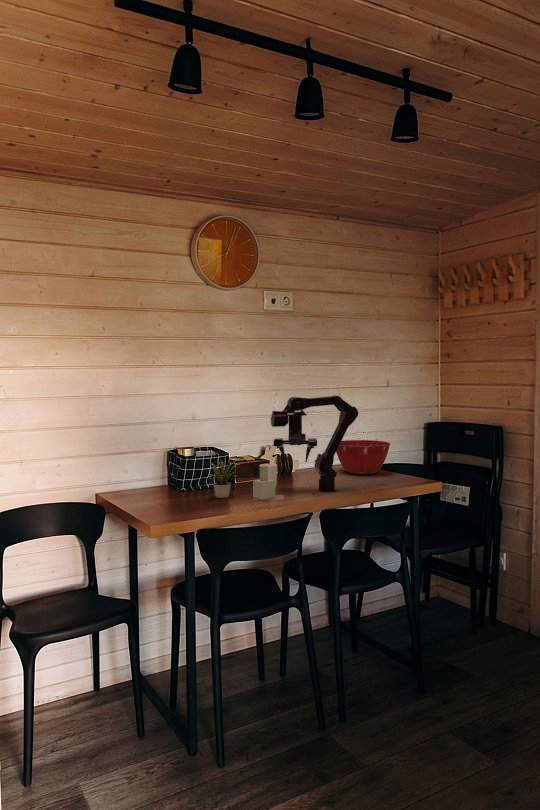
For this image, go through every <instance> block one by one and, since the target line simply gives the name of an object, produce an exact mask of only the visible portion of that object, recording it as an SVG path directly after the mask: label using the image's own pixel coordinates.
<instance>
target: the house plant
mask: <svg viewBox="0 0 540 810" xmlns="http://www.w3.org/2000/svg"><path fill="white" fill-rule="evenodd" d="M234 463H235V461H232V462H230V463H227V464H226V466H225V463H224V462H223V461H220V462H218V464H219V466H220V469H219V468H218V467H217V466H216V465H214V463H211V462H210V464H211V465H212V466H213V468H212V467H211V469H212V470H213V474H210V473H209V474H208V475H209V476H211V477H210V480H214V481H215V483H213V489H214V494H215V498H219V499H223V498H229V497H230V491H231V484H232V483H231V482H228V481H229V480H234V479H235V478H236V475H233V474H234V471H233V472H232V470H233V469H234V468H235V467H236V466H239V465H241V464H240V463H239V464H235V465H233V464H234ZM232 465H233V466H232ZM231 466H232V467H231ZM220 470H221V472H220ZM232 475H233V477H235V478H233V477H232Z"/></svg>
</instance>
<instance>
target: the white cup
mask: <svg viewBox="0 0 540 810" xmlns="http://www.w3.org/2000/svg"><path fill="white" fill-rule="evenodd" d="M263 465H265V466H268V479H269V480H273V481H275V488H276V487H277V479H278V477H277V475H278V464H276V463H262V464H259V467H260V466H263Z"/></svg>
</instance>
